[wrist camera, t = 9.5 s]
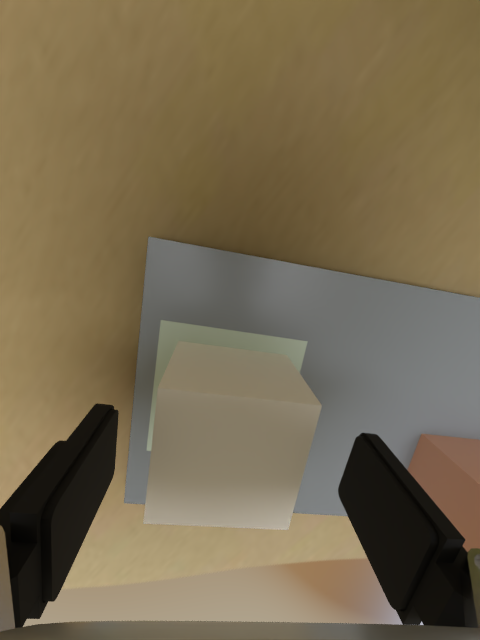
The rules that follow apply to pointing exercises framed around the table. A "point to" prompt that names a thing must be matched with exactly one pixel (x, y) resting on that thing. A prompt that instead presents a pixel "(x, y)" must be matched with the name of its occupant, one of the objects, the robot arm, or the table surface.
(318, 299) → the baseplate
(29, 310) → the table surface
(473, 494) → the terracotta brick
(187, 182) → the table surface
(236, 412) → the cream brick
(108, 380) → the table surface
